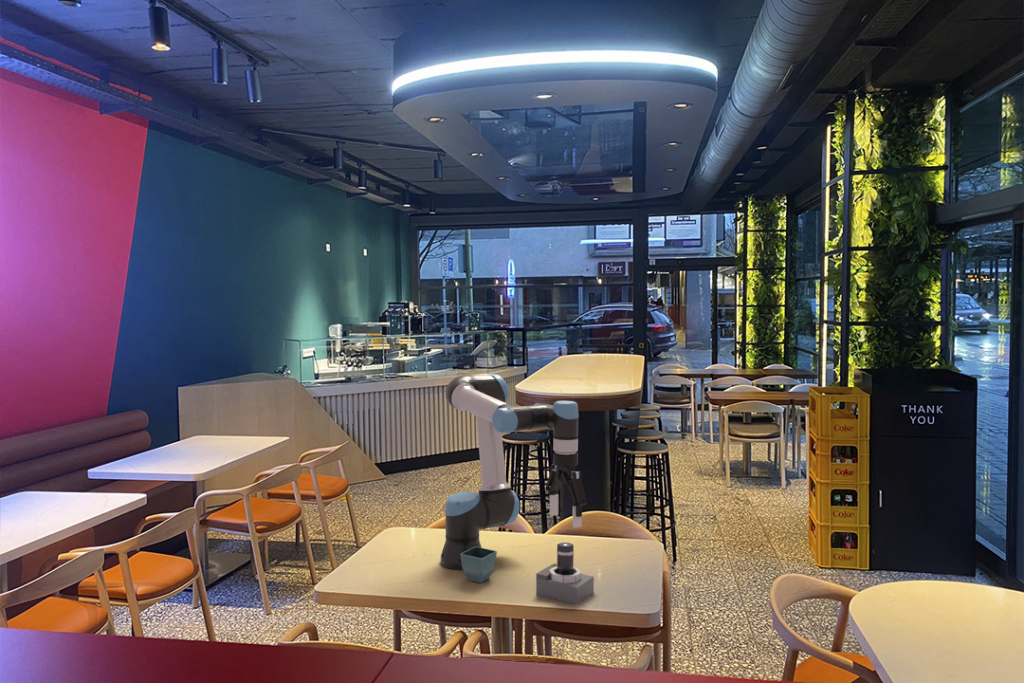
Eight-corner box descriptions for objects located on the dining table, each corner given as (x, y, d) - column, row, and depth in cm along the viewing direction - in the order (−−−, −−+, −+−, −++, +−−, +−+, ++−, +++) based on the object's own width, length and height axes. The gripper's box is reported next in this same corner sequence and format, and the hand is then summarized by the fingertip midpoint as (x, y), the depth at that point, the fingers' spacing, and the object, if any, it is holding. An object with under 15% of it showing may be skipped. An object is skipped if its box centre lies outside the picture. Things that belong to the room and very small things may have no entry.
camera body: (536, 594, 217) (536, 570, 217) (554, 583, 227) (554, 560, 226) (576, 604, 210) (577, 580, 209) (593, 592, 219) (593, 569, 219)
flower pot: (482, 586, 224) (482, 558, 223) (459, 581, 228) (459, 553, 228) (497, 578, 231) (497, 550, 231) (475, 572, 236) (475, 546, 235)
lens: (562, 581, 214) (562, 548, 214) (553, 576, 219) (553, 543, 219) (576, 578, 217) (577, 545, 216) (568, 573, 221) (568, 540, 221)
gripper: (598, 458, 207) (598, 530, 208) (555, 444, 229) (555, 509, 230) (577, 460, 204) (576, 533, 205) (535, 446, 226) (534, 512, 227)
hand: (565, 521), depth 217 cm, fingers open, 13 cm apart
